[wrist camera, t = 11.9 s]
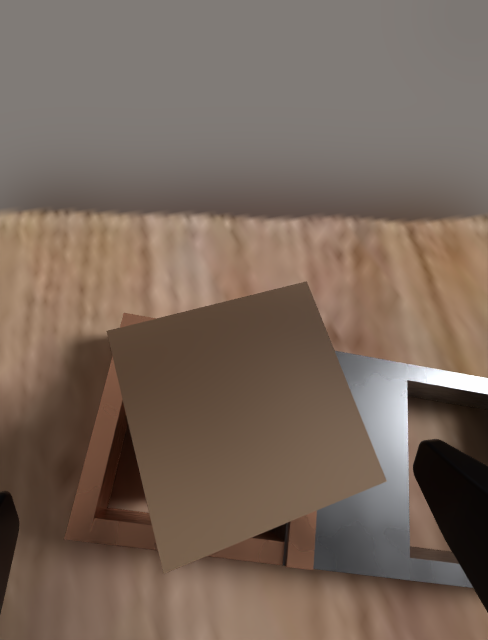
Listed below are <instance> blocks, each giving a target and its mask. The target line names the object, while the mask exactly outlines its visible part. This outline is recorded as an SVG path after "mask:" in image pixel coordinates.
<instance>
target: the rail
mask: <svg viewBox="0 0 488 640" xmlns="http://www.w3.org/2000/svg"><path fill="white" fill-rule="evenodd" d="M153 319H156V318H150V317H144V316H139V315H133V314H128V313H124V314H123V318H122V322H121V326H120V328H121V327H125V326H129V325H133V324H137V323H141V322H145V321H149V320H153ZM335 353H336V356H337V358H338V361H339V363H340V366H341V368H342V371H343V373H344V376H345V378H346V381H347V383H348V386H349V388H350V391H351V393H352V396H353V398H354V401H355V403H356V406H357V408H358V410H359V413H360V415H361V418H362V420H363V423H364V425H365V428H366V430H367V433H368V435H369V438H370V440H371V443H372V445H373V448H374V450H375V453H376V455H377V458H378V460H379V463H380V465H381V468H382V470H383V473H384V475H385V478H386V480H387V482H384V483H382V484H379V485H377V486H375V487H372V488H370V489H367V490H365V491H362V492H360V493H358V494H355V495H353V496H350V497H348V498H346V499H343V500H341V501H338V502H336V503H334V504H331V505H329V506H326V507H324V508H321V509H319V510H317V511H314V512H312V513H309V514H307V515H305V516H302V517H300V518H297V519H295V520H293V521H290V522H288V523H285V524H283V525H281V526H278V527H276V528H273V529H271V530H268V531H266V532H264V533H261V534H259V535H256V536H254V537H252V538H249V539H247V540H244V541H242V542H240V543H237V544H235V545H232V546H230V547H228V548H225V549H223V550H220V551H218V552H215V553H213V554H211V555H208V556H209V557H217V558H226V559H234V560H243V561H251V562H260V563H268V564H276V565H285V566H286V567H291V568H299V569H308V570H313V569H319V570H327V571H335V572H344V573H352V574H361V575H369V576H378V577H386V578H394V579H403V580H411V581H420V582H428V583H437V584H445V585H453V586H462V587H470V588H473V587H472V585H471V583H470V581H469V580H468V578H467V576H466V575H465V573H464V571H463V570H462V568H461V566H460V564H459V563H458V561H457V559H456V558H455V556H454V554H453V553H452V552H449V551H441V550H434V549H426V548H418V547H410V534H409V468H408V402H407V396H410V397H416V398H422V399H428V400H434V401H439V402H445V403H451V404H457V405H463V406H469V407H475V408H480V409H486V410H488V378H483V377H477V376H472V375H466V374H461V373H455V372H449V371H444V370H438V369H433V368H427V367H422V366H416V365H411V364H405V363H400V362H394V361H388V360H383V359H377V358H372V357H366V356H361V355H355V354H350V353H344V352H339V351H335ZM127 424H128V420H127V416H126V412H125V407H124V403H123V399H122V395H121V390H120V386H119V382H118V377H117V373H116V369H115V365H114V360H113V356H112V360H111V364H110V367H109V371H108V375H107V379H106V382H105V386H104V390H103V394H102V398H101V401H100V405H99V409H98V413H97V417H96V420H95V424H94V428H93V432H92V435H91V439H90V443H89V447H88V451H87V454H86V458H85V462H84V466H83V469H82V473H81V477H80V481H79V485H78V488H77V492H76V496H75V500H74V503H73V507H72V511H71V515H70V519H69V522H68V526H67V530H66V534H65V537H64V539H66V540H74V541H83V542H91V543H100V544H108V545H116V546H125V547H133V548H142V549H150V550H158V548H157V544H156V540H155V536H154V531H153V527H152V523H151V518H150V514H149V513H145V512H138V511H130V510H122V509H114V508H108V505H109V501H110V497H111V493H112V488H113V484H114V480H115V476H116V471H117V467H118V463H119V459H120V454H121V450H122V446H123V441H124V437H125V433H126V429H127Z"/></svg>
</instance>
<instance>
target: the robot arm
mask: <svg viewBox="0 0 488 640" xmlns="http://www.w3.org/2000/svg"><path fill="white" fill-rule="evenodd" d="M413 472H414V476H415V478H416V480H417V482H418V484H419V486H420V489H421V491H422V493H423V495H424V497H425V499H426V501H427V503H428V505H429V507H430V510H431V512H432V514H433V516H434V518H435V520H436V522H437V524H438V526H439V529H440V531H441V532H442V534H443V536H444V538H445V540H446V542H447V544H448V546H449V547H450V549H451V551H452V553H453V554H454V556H455V558H456V559H457V561H458V563H459V564H460V566H461V568H462V570H463V571H464V573H465V575H466V576H467V578H468V580H469V581H470V583H471V585H472V587H473V588H474V590H475V592H476V593H477V595H478V597H479V598H480V600H481V602H482V604H483V605H484V607H485V609H486V610H487V612H488V466H486V465H485V464H483V463H481V462H479V461H477V460H476V459H474V458H472V457H470V456H468V455H467V454H465V453H463V452H461V451H459V450H458V449H456V448H454V447H452V446H450V445H449V444H447V443H445V442H443V441H441V440H439V439H432V440H424V441H422V442H421V443H420V445H419V447H418V451H417V454H416V457H415V461H414V464H413ZM18 532H19V518H18V514H17V511H16V508H15V505H14V502H13V499H12V496H11V494H10V493H9V492H8V491H2V492H0V613H1V609H2V605H3V601H4V596H5V592H6V587H7V582H8V578H9V573H10V569H11V564H12V560H13V555H14V550H15V546H16V541H17V537H18Z"/></svg>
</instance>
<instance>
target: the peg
mask: <svg viewBox="0 0 488 640" xmlns="http://www.w3.org/2000/svg"><path fill="white" fill-rule="evenodd" d="M107 335H108V339H109V343H110V348H111V352H112V356H113V360H114V365H115V369H116V373H117V377H118V382H119V386H120V390H121V395H122V399H123V403H124V407H125V412H126V416H127V420H128V424H129V429H130V433H131V437H132V442H133V446H134V450H135V454H136V459H137V463H138V467H139V471H140V476H141V480H142V484H143V489H144V493H145V497H146V501H147V506H148V510H149V514H150V518H151V523H152V527H153V531H154V536H155V540H156V544H157V548H158V553H159V557H160V561H161V565H162V570H163V574H165V573H167V572H170V571H172V570H174V569H177V568H179V567H182V566H184V565H187V564H189V563H191V562H194V561H196V560H199V559H201V558H203V557H206V556H208V555H211V554H213V553H215V552H218V551H220V550H223V549H225V548H228V547H230V546H232V545H235V544H237V543H240V542H242V541H244V540H247V539H249V538H252V537H254V536H256V535H259V534H261V533H264V532H266V531H268V530H271V529H273V528H276V527H278V526H281V525H283V524H285V523H288V522H290V521H293V520H295V519H297V518H300V517H302V516H305V515H307V514H309V513H312V512H314V511H317V510H319V509H321V508H324V507H326V506H329V505H331V504H334V503H336V502H338V501H341V500H343V499H346V498H348V497H350V496H353V495H355V494H358V493H360V492H362V491H365V490H367V489H370V488H372V487H375V486H377V485H379V484H382V483H384V482H387V480H386V478H385V475H384V473H383V470H382V468H381V465H380V463H379V460H378V458H377V455H376V453H375V450H374V448H373V445H372V443H371V440H370V438H369V435H368V433H367V430H366V428H365V425H364V423H363V420H362V418H361V415H360V413H359V410H358V408H357V406H356V403H355V401H354V398H353V396H352V393H351V391H350V388H349V386H348V383H347V381H346V378H345V376H344V373H343V371H342V368H341V366H340V363H339V361H338V358H337V356H336V353H335V351H334V348H333V346H332V343H331V341H330V338H329V336H328V333H327V331H326V328H325V326H324V323H323V321H322V318H321V316H320V313H319V311H318V308H317V306H316V303H315V301H314V299H313V296H312V294H311V291H310V289H309V286H308V284H307V282H303V283H299V284H295V285H290V286H286V287H282V288H278V289H274V290H270V291H266V292H262V293H258V294H254V295H250V296H246V297H242V298H238V299H234V300H230V301H226V302H222V303H218V304H214V305H210V306H206V307H202V308H198V309H194V310H190V311H186V312H182V313H177V314H173V315H169V316H165V317H161V318H157V319H153V320H149V321H145V322H141V323H137V324H133V325H129V326H125V327H121V328H117V329H113V330H109V331H107Z"/></svg>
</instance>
